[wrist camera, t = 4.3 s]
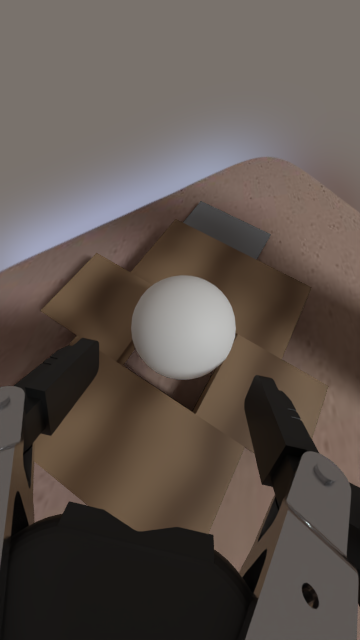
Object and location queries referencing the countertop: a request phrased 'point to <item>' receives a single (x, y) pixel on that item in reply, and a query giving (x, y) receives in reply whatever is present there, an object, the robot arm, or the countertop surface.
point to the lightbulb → (183, 327)
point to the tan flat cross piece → (155, 406)
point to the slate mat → (228, 229)
